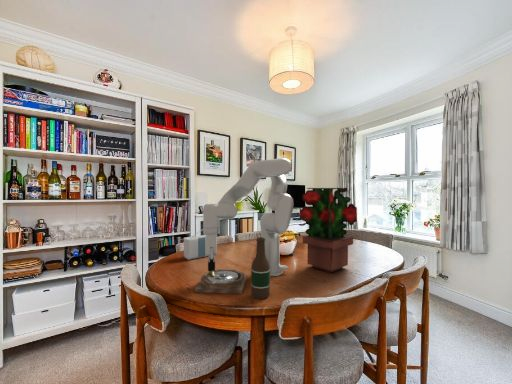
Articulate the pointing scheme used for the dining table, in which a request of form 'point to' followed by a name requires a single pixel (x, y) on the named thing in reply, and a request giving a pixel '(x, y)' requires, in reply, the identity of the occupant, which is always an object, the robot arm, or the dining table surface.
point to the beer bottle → (260, 272)
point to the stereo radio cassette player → (194, 246)
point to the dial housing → (222, 284)
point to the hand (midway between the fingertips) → (211, 269)
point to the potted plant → (327, 227)
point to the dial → (222, 276)
